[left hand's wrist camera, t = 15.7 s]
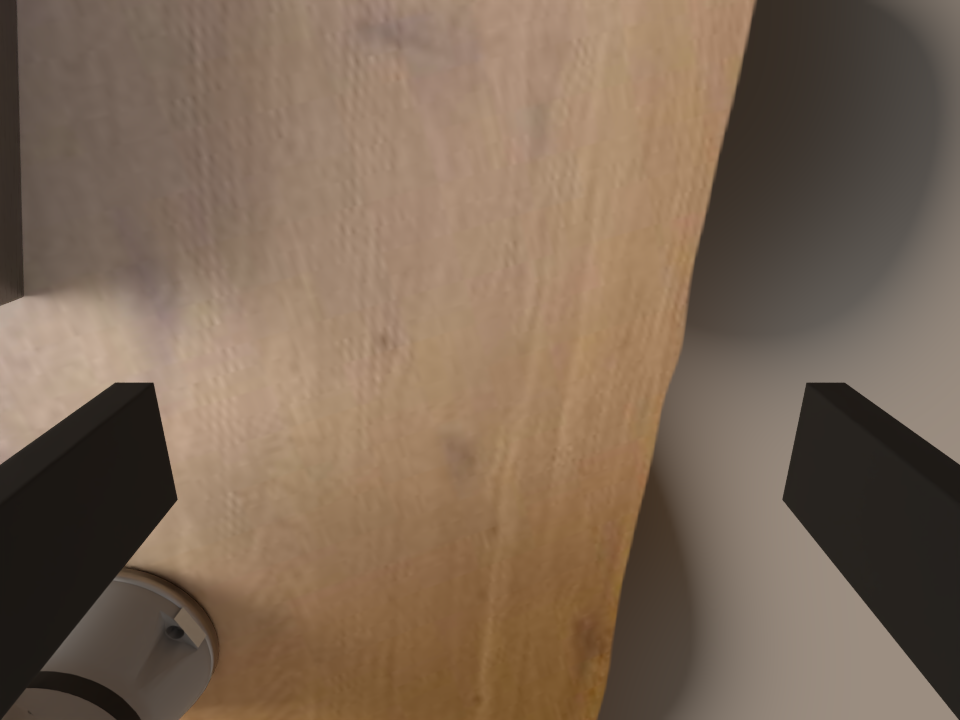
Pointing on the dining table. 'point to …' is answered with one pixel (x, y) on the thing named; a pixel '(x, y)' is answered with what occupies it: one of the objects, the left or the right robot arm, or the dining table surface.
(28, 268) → the dining table surface
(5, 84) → the bar
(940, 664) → the left robot arm
